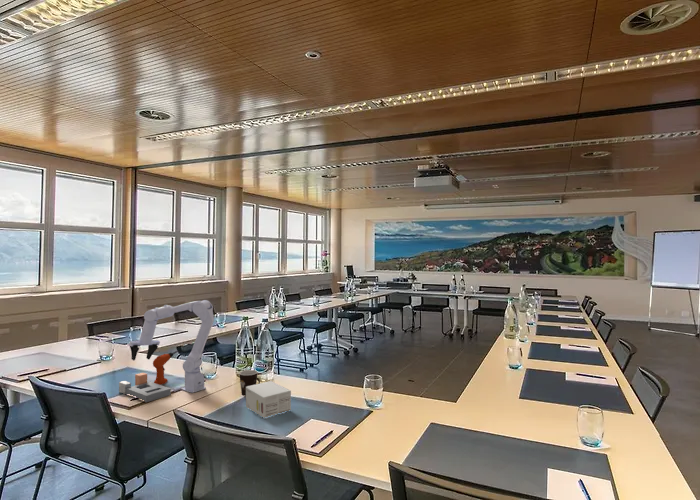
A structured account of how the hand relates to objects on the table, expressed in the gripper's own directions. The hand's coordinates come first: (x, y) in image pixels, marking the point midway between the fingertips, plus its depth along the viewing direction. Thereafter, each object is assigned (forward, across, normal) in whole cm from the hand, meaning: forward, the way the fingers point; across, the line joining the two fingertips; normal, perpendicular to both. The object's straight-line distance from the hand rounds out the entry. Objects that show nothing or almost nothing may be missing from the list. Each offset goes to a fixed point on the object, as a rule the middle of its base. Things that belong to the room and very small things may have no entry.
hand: (140, 359), depth 205 cm
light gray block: (+15, +5, +3) cm, 16 cm away
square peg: (+14, -3, +3) cm, 15 cm away
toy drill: (+12, -17, +1) cm, 21 cm away
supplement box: (-4, -19, +73) cm, 75 cm away
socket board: (+12, 0, +14) cm, 19 cm away
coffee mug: (0, -27, +52) cm, 59 cm away
